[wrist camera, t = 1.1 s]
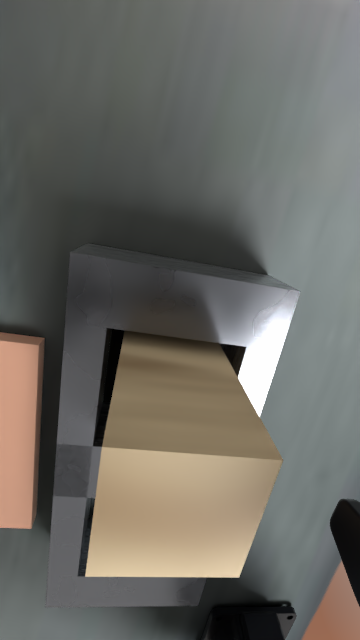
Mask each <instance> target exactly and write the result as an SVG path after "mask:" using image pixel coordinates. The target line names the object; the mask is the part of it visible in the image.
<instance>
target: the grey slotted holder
mask: <svg viewBox="0 0 360 640" xmlns="http://www.w3.org/2000/svg"><path fill="white" fill-rule="evenodd" d="M299 295H300V291H298V290H296V289H294V288H293V287H291V286H289V285H287V284H285V283H283V282H281V281H279V280H277V279H275V278H273V277H271V276H269V275H265V274H259V273H254V272H248V271H242V270H237V269H231V268H225V267H220V266H214V265H209V264H203V263H197V262H192V261H186V260H180V259H175V258H169V257H164V256H158V255H152V254H147V253H141V252H135V251H130V250H124V249H119V248H113V247H107V246H102V245H96V244H91V243H87V244H85V245H83V246H81V247H79V248H77V249H75V250H73V251H71V252H70V260H69V274H68V288H67V303H66V317H65V332H64V346H63V361H62V375H61V389H60V404H59V418H58V433H57V447H56V462H55V476H54V490H53V505H52V519H51V534H50V548H49V563H48V577H47V592H46V606H45V607H138V606H198V604H199V601H200V598H201V595H202V592H203V589H204V586H205V582H206V579H207V577H85V574H86V566H87V559H88V551H89V543H90V535H91V528H92V520H93V518H89V512H90V504H91V498H95V497H96V489H97V482H98V474H99V466H100V458H101V451H102V444H103V439H104V434H105V429H106V424H107V419H108V414H109V409H110V403H106V402H103V399H104V391H105V383H106V375H107V367H108V359H109V350H110V342H111V334H112V329H118V330H126V331H133V332H140V333H148V334H155V335H163V336H170V337H177V338H185V339H192V340H200V341H207V342H214V343H221V345H220V346H221V348H222V350H223V351H224V353H225V355H226V357H227V359H228V360H229V362H230V364H231V366H232V368H233V370H234V371H235V373H236V375H237V377H238V379H239V381H240V382H241V384H242V386H243V388H244V390H245V391H246V393H247V395H248V397H249V399H250V401H251V402H252V404H253V406H254V408H255V410H256V412H257V413H258V415H259V417H260V414H261V411H262V408H263V405H264V402H265V399H266V396H267V393H268V389H269V386H270V383H271V380H272V377H273V374H274V371H275V368H276V365H277V362H278V359H279V356H280V353H281V350H282V347H283V344H284V340H285V337H286V334H287V331H288V328H289V325H290V322H291V319H292V316H293V313H294V310H295V307H296V304H297V301H298V298H299Z"/></svg>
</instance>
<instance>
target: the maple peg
mask: <svg viewBox="0 0 360 640" xmlns="http://www.w3.org/2000/svg"><path fill="white" fill-rule="evenodd" d="M282 462H283V459H282V457H281V455H280V454H279V452H278V450H277V448H276V446H275V444H274V443H273V441H272V439H271V437H270V435H269V433H268V432H267V430H266V428H265V426H264V424H263V423H262V421H261V419H260V417H259V415H258V413H257V412H256V410H255V408H254V406H253V404H252V402H251V401H250V399H249V397H248V395H247V393H246V391H245V390H244V388H243V386H242V384H241V382H240V381H239V379H238V377H237V375H236V373H235V371H234V370H233V368H232V366H231V364H230V362H229V360H228V359H227V357H226V355H225V353H224V351H223V350H222V348H221V346H220V344H219V343H214V342H207V341H200V340H192V339H185V338H177V337H170V336H163V335H155V334H148V333H140V332H133V331H126V330H125V332H124V337H123V342H122V347H121V352H120V357H119V362H118V367H117V373H116V378H115V383H114V388H113V393H112V398H111V403H110V409H109V414H108V419H107V424H106V429H105V434H104V439H103V444H102V451H101V458H100V466H99V474H98V482H97V489H96V497H95V505H94V512H93V520H92V528H91V535H90V543H89V551H88V559H87V566H86V574H85V577H227V578H239V576H240V574H241V571H242V568H243V566H244V563H245V560H246V558H247V555H248V553H249V550H250V547H251V545H252V542H253V539H254V537H255V534H256V531H257V529H258V526H259V523H260V521H261V518H262V515H263V513H264V510H265V507H266V505H267V502H268V500H269V497H270V494H271V492H272V489H273V486H274V484H275V481H276V478H277V476H278V473H279V470H280V468H281V465H282Z"/></svg>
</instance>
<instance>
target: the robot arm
mask: <svg viewBox="0 0 360 640" xmlns="http://www.w3.org/2000/svg"><path fill="white" fill-rule="evenodd" d="M330 528H331V531H332V534H333V537H334V540H335V542H336V545H337V548H338V551H339V553H340V556H341V559H342V562H343V564H344V567H345V570H346V573H347V575H348V578H349V581H350V584H351V586H352V589H353V592H354V594H355V597H356V599H357V602H358V604H359V606H360V502H358V501H357V500H354V499H341V500H340V501H339V502H338V504H337V506H336V508H335V510H334V512H333V514H332V516H331V519H330ZM295 619H296V613H295V610H294V608H293V607H219V608H215V609H213V610H212V611H211V613H210V616H209V619H208V622H207V624H206V627H205V630H204V633H203V636H202V639H201V640H285V639H286V637H287V635H288V633H289V631H290V629H291V627H292V625H293V623H294V621H295Z"/></svg>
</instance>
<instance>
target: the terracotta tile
mask: <svg viewBox="0 0 360 640" xmlns="http://www.w3.org/2000/svg"><path fill="white" fill-rule="evenodd" d="M44 345H45V338H41V337H34V336H26V335H18V334H10V333H2V332H0V528H28V529H31V528H32V526H33V523H34V520H35V517H36V515H37V494H38V473H39V451H40V430H41V409H42V387H43V366H44Z"/></svg>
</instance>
